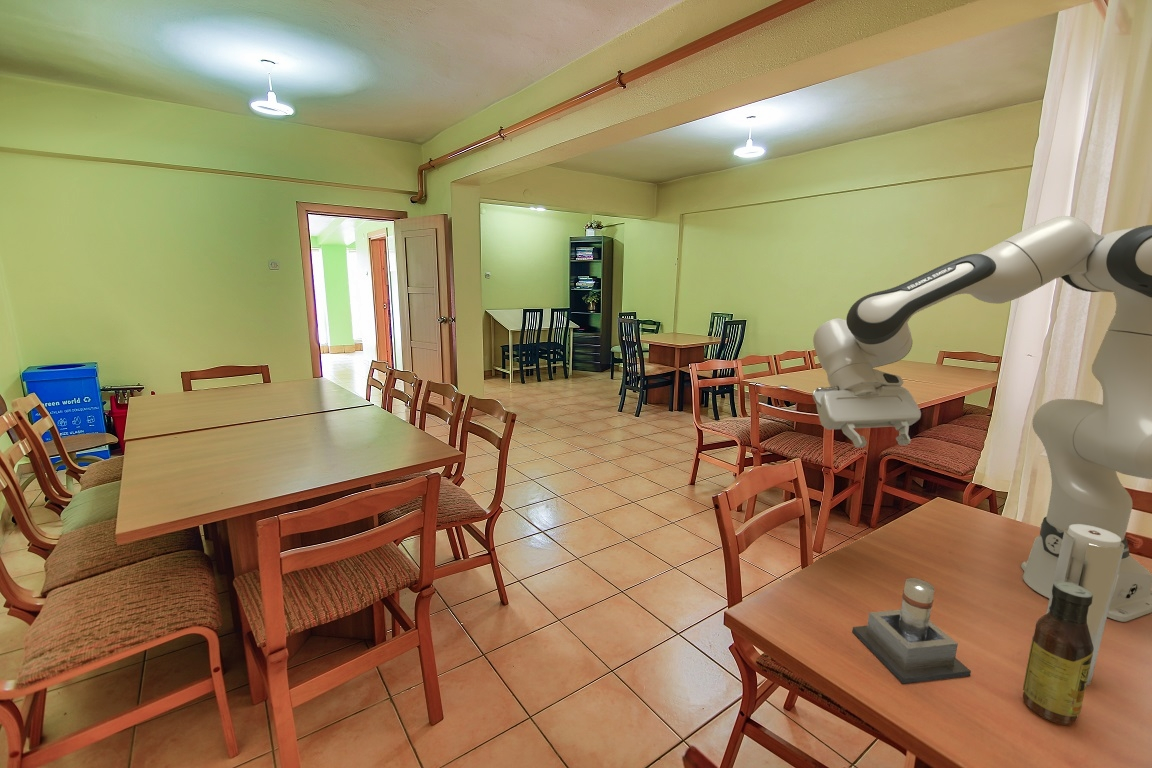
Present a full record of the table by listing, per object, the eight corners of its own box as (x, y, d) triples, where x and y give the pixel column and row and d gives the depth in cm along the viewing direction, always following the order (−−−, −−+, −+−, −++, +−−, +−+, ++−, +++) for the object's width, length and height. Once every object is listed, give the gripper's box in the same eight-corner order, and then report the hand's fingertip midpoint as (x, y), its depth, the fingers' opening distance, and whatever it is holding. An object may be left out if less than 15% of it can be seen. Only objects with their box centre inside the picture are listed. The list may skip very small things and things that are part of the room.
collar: (911, 625, 92) (915, 602, 91) (970, 676, 80) (975, 649, 79) (852, 631, 90) (855, 607, 89) (902, 684, 78) (906, 656, 77)
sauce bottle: (1083, 735, 70) (1114, 610, 65) (1025, 715, 73) (1051, 595, 69) (1069, 702, 75) (1097, 585, 71) (1016, 684, 78) (1039, 572, 74)
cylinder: (911, 637, 87) (921, 576, 85) (930, 655, 83) (941, 591, 81) (889, 639, 87) (898, 578, 84) (907, 657, 83) (918, 593, 80)
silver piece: (1102, 689, 77) (1139, 544, 72) (1053, 683, 78) (1086, 540, 73) (1070, 659, 83) (1102, 523, 78) (1026, 653, 85) (1054, 519, 80)
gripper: (817, 379, 101) (843, 440, 93) (908, 376, 103) (940, 435, 96) (802, 395, 106) (826, 454, 98) (889, 392, 108) (919, 449, 101)
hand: (883, 445), depth 97 cm, fingers open, 8 cm apart
